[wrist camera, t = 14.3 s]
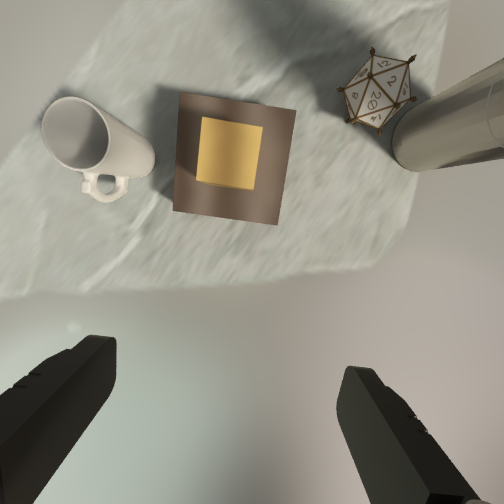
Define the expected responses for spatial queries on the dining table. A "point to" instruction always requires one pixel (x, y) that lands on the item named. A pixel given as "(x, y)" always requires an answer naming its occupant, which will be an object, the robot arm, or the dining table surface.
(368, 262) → the dining table surface
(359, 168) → the dining table surface
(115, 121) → the mug
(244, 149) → the ochre block
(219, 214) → the riser
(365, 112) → the game die
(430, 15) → the dining table surface
